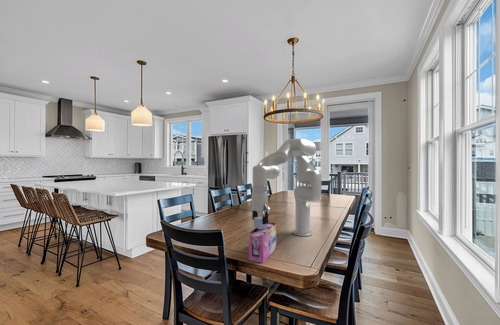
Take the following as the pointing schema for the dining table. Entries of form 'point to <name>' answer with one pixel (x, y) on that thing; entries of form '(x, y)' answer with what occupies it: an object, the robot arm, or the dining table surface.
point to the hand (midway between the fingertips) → (260, 221)
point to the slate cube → (259, 223)
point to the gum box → (262, 243)
